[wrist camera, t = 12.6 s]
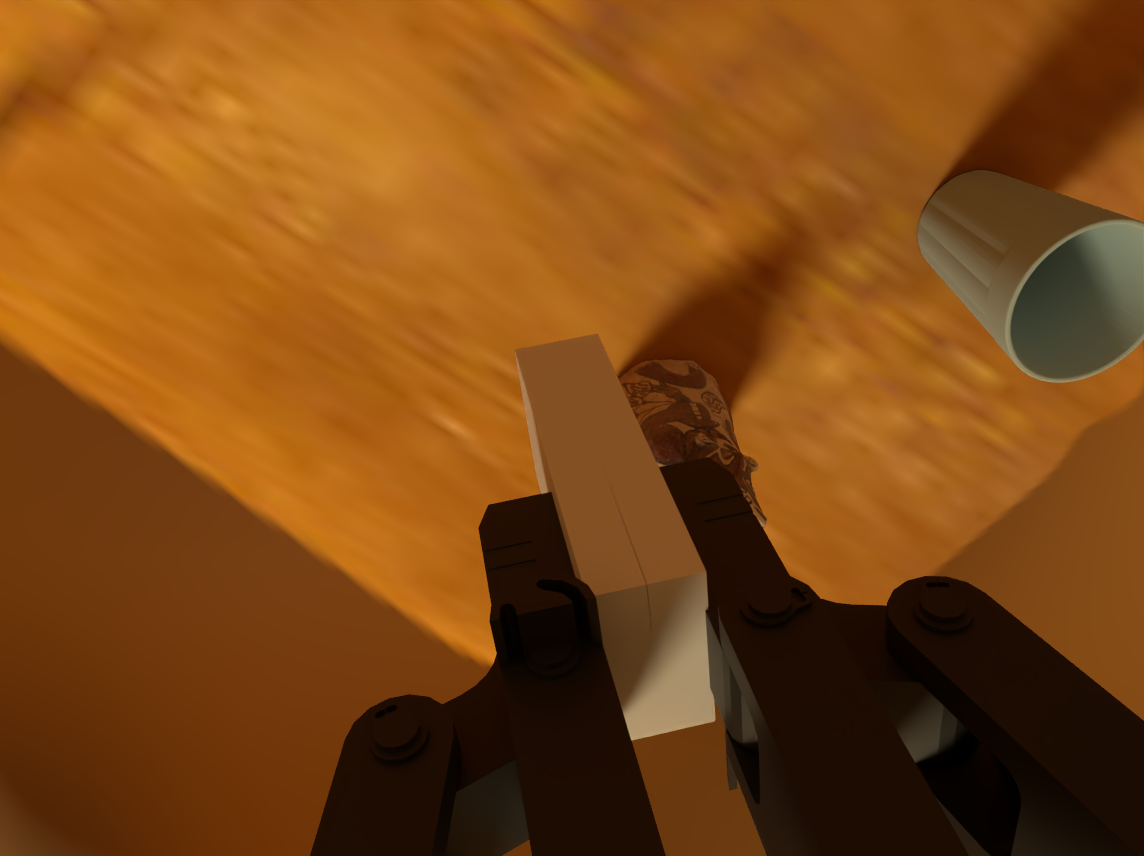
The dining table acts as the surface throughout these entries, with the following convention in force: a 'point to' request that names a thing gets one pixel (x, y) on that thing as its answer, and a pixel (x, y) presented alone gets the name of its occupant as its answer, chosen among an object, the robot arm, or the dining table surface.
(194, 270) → the dining table surface
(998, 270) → the cup
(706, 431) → the figurine
